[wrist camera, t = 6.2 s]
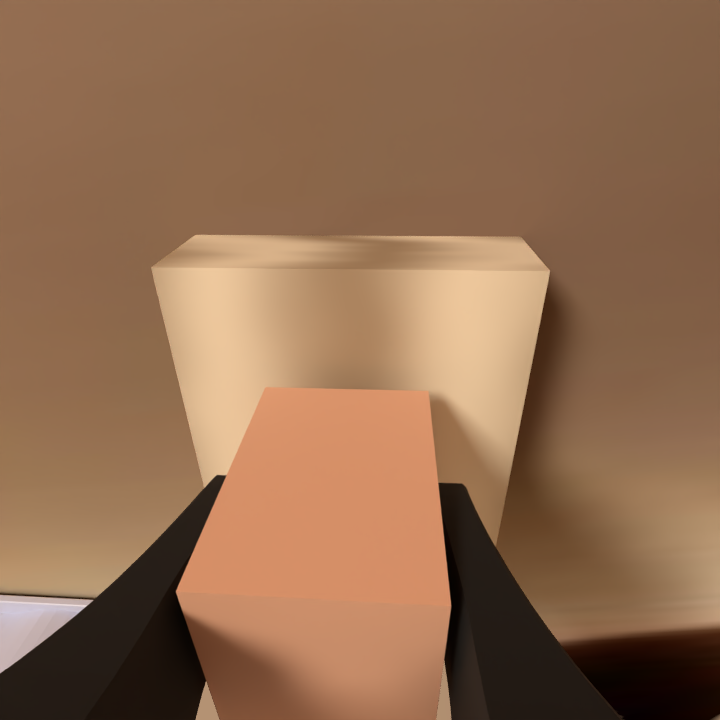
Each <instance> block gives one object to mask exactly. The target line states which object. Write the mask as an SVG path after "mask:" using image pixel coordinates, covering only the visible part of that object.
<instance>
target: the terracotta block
mask: <svg viewBox="0 0 720 720" xmlns="http://www.w3.org/2000/svg"><path fill="white" fill-rule="evenodd" d="M176 594H177V597H178V600H179V603H180V605H181V608H182V611H183V614H184V617H185V620H186V623H187V626H188V629H189V632H190V635H191V638H192V640H193V643H194V646H195V649H196V652H197V655H198V658H199V661H200V664H201V667H202V670H203V673H204V675H205V678H206V681H207V684H208V687H209V690H210V693H211V696H212V699H213V702H214V704H215V707H216V710H217V713H218V716H219V719H220V720H436V716H437V709H438V702H439V694H440V687H441V678H442V671H443V664H444V657H445V649H446V642H447V634H448V627H449V619H450V612H451V600H450V590H449V581H448V571H447V562H446V552H445V543H444V533H443V524H442V514H441V505H440V495H439V486H438V476H437V467H436V457H435V448H434V438H433V429H432V419H431V410H430V400H429V391H409V390H367V389H324V388H282V387H265V389H264V391H263V394H262V396H261V398H260V400H259V403H258V405H257V407H256V410H255V412H254V414H253V416H252V419H251V421H250V423H249V425H248V428H247V430H246V432H245V435H244V437H243V439H242V441H241V444H240V446H239V448H238V451H237V453H236V455H235V457H234V460H233V462H232V464H231V467H230V469H229V471H228V473H227V476H226V478H225V480H224V483H223V485H222V487H221V489H220V492H219V494H218V496H217V499H216V501H215V503H214V505H213V508H212V510H211V512H210V514H209V517H208V519H207V521H206V524H205V526H204V528H203V530H202V533H201V535H200V537H199V540H198V542H197V544H196V546H195V549H194V551H193V553H192V556H191V558H190V560H189V562H188V565H187V567H186V569H185V572H184V574H183V576H182V578H181V581H180V583H179V585H178V588H177V590H176Z"/></svg>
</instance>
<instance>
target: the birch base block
mask: <svg viewBox="0 0 720 720" xmlns="http://www.w3.org/2000/svg"><path fill="white" fill-rule="evenodd" d="M151 269H152V273H153V277H154V281H155V286H156V290H157V294H158V298H159V302H160V306H161V310H162V315H163V319H164V323H165V327H166V331H167V335H168V339H169V344H170V348H171V352H172V356H173V360H174V364H175V368H176V373H177V377H178V381H179V385H180V389H181V393H182V397H183V402H184V406H185V410H186V414H187V418H188V422H189V426H190V431H191V435H192V439H193V443H194V447H195V451H196V455H197V460H198V464H199V468H200V472H201V476H202V480H203V484H204V488H205V487H206V486H207V485H208V483H209V482H210V481H211V480H212V479H213V478H214V477H215V476H216V475H227V473H228V471H229V469H230V467H231V464H232V462H233V460H234V457H235V455H236V453H237V451H238V448H239V446H240V444H241V441H242V439H243V437H244V435H245V432H246V430H247V428H248V425H249V423H250V421H251V419H252V416H253V414H254V412H255V410H256V407H257V405H258V403H259V400H260V398H261V396H262V394H263V391H264V389H265V387H282V388H324V389H367V390H409V391H429V400H430V410H431V419H432V429H433V438H434V448H435V457H436V467H437V476H438V483H462V484H463V485H464V486H465V487H466V488H467V490H468V493H469V495H470V498H471V500H472V502H473V504H474V507H475V509H476V511H477V513H478V515H479V517H480V519H481V521H482V523H483V525H484V527H485V529H486V531H487V533H488V534H489V536H490V538H491V540H492V542H493V543H494V545H495V546H496V544H497V539H498V533H499V528H500V523H501V518H502V513H503V508H504V503H505V498H506V493H507V488H508V483H509V478H510V473H511V467H512V462H513V457H514V452H515V447H516V442H517V437H518V432H519V427H520V422H521V417H522V412H523V407H524V401H525V396H526V391H527V386H528V381H529V376H530V371H531V366H532V361H533V356H534V351H535V346H536V340H537V335H538V330H539V325H540V320H541V315H542V310H543V305H544V300H545V295H546V290H547V285H548V280H549V274H550V270H549V269H548V268H547V267H546V266H545V265H544V263H543V262H542V261H541V260H540V259H539V258H538V256H537V255H536V254H535V253H534V252H533V251H532V249H531V248H530V247H529V246H528V245H527V244H526V242H525V241H524V240H523V239H522V238H521V237H472V236H290V235H195V236H193V237H192V238H191V239H189V240H188V241H187V242H185V243H184V244H182V245H181V246H180V247H178V248H177V249H176V250H174V251H173V252H172V253H170V254H169V255H167V256H166V257H165V258H163V259H162V260H161V261H159V262H158V263H156V264H155V265H154V266H152V267H151Z"/></svg>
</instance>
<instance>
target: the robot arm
mask: <svg viewBox="0 0 720 720" xmlns="http://www.w3.org/2000/svg"><path fill="white" fill-rule="evenodd" d="M226 476H227V475H216V476H215V477H214V478H213V479H212V480H211V481H210V482H209V483H208V485H207V486H206V487H205V488H204V489H203V490H202V491H201V492H200V494H199V495H198V496H197V497H196V498H195V499H194V500H193V501H192V502H191V504H190V505H189V506H188V507H187V508H186V509H185V510H184V511H183V512H182V513H181V515H180V516H179V517H178V518H177V519H176V520H175V521H174V522H173V523H172V524H171V525H170V526H169V527H168V529H167V530H166V531H165V532H164V533H163V534H162V535H161V536H160V537H159V538H158V539H157V540H156V541H155V542H154V543H153V544H152V545H151V546H150V547H149V548H148V549H147V550H146V551H145V552H144V553H143V554H142V555H141V556H140V557H139V558H138V559H137V560H136V561H135V562H134V563H133V564H132V565H131V566H130V567H129V568H128V569H127V570H126V571H125V572H124V573H123V574H122V575H121V576H120V577H119V578H118V579H116V580H115V581H114V582H113V583H112V584H111V585H110V586H109V587H108V588H107V589H105V590H104V591H103V592H102V593H101V594H100V595H99V596H98V597H97V598H95V599H94V600H88V599H70V598H51V597H32V596H13V595H0V720H195V719H196V715H197V711H198V707H199V703H200V699H201V696H202V692H203V688H204V686H205V682H206V678H205V675H204V673H203V670H202V667H201V664H200V661H199V658H198V655H197V652H196V649H195V646H194V643H193V640H192V638H191V635H190V632H189V629H188V626H187V623H186V620H185V617H184V614H183V611H182V608H181V605H180V603H179V600H178V597H177V594H176V590H177V588H178V585H179V583H180V581H181V578H182V576H183V574H184V572H185V569H186V567H187V565H188V562H189V560H190V558H191V556H192V553H193V551H194V549H195V546H196V544H197V542H198V540H199V537H200V535H201V533H202V530H203V528H204V526H205V524H206V521H207V519H208V517H209V514H210V512H211V510H212V508H213V505H214V503H215V501H216V499H217V496H218V494H219V492H220V489H221V487H222V485H223V483H224V480H225V478H226ZM438 486H439V495H440V505H441V514H442V524H443V533H444V543H445V552H446V562H447V571H448V581H449V590H450V600H451V612H450V619H449V627H448V634H447V642H446V649H445V657H444V661H445V667H446V674H447V681H448V688H449V697H450V706H451V718H452V720H623V719H622V718H621V717H620V716H619V715H618V714H617V712H616V711H615V710H614V709H613V708H612V707H611V705H610V704H609V703H608V702H607V701H606V700H605V699H604V697H603V696H602V695H601V694H600V693H599V692H598V690H597V689H596V688H595V687H594V686H593V685H592V684H591V682H590V681H589V680H588V679H587V678H586V676H585V675H584V674H583V673H582V671H581V670H580V669H579V668H578V666H577V665H576V664H575V663H574V661H573V660H572V659H571V658H570V656H569V655H568V654H567V653H566V651H565V650H564V649H563V647H562V646H561V645H560V643H559V642H558V641H557V639H556V638H555V637H554V635H553V634H552V633H551V631H550V630H549V629H548V627H547V626H546V625H545V623H544V622H543V620H542V619H541V618H540V616H539V615H538V613H537V612H536V610H535V609H534V608H533V606H532V605H531V603H530V602H529V600H528V599H527V597H526V596H525V594H524V593H523V591H522V590H521V588H520V587H519V585H518V583H517V582H516V580H515V579H514V577H513V576H512V574H511V572H510V571H509V569H508V567H507V566H506V564H505V562H504V561H503V559H502V557H501V555H500V554H499V552H498V550H497V549H496V547H495V545H494V543H493V542H492V540H491V538H490V536H489V534H488V533H487V531H486V529H485V527H484V525H483V523H482V521H481V519H480V517H479V515H478V513H477V511H476V509H475V507H474V504H473V502H472V500H471V498H470V495H469V493H468V490H467V488H466V487H465V486H464V485H463V484H462V483H438Z"/></svg>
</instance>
